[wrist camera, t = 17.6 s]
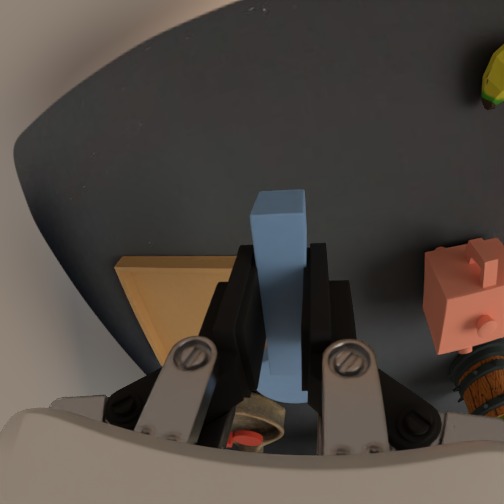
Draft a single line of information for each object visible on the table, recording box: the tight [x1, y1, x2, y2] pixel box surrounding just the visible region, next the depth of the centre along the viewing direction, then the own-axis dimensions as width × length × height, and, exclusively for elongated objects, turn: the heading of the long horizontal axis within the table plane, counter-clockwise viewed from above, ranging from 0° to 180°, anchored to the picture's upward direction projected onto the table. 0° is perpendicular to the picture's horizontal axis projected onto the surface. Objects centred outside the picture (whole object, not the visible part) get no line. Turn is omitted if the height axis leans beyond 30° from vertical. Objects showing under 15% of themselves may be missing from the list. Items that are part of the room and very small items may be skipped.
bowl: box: [231, 392, 285, 453], centre depth 39 cm, size 14×18×10 cm
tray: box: [114, 256, 267, 366], centre depth 32 cm, size 15×16×2 cm
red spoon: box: [226, 430, 263, 447], centre depth 36 cm, size 11×4×2 cm, turn 93°
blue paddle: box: [249, 189, 308, 403], centre depth 12 cm, size 11×4×2 cm, turn 7°
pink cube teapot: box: [423, 238, 504, 355], centre depth 21 cm, size 8×12×8 cm, turn 18°
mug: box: [449, 338, 504, 419], centre depth 27 cm, size 13×10×12 cm
